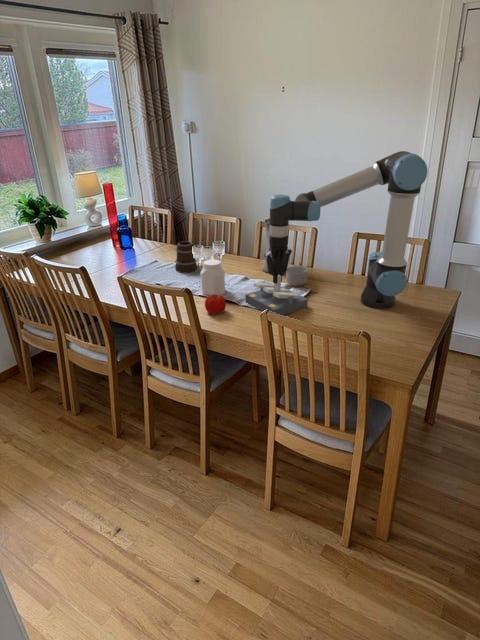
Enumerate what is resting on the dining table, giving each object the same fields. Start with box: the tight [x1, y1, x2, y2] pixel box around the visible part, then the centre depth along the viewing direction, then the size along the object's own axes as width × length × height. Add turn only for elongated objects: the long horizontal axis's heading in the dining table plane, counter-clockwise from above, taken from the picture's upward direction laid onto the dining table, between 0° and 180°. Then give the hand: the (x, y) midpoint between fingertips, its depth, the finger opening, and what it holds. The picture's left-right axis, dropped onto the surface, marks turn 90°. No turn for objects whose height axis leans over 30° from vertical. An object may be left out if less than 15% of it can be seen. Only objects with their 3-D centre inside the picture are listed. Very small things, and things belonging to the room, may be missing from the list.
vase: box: [262, 217, 273, 274], centre depth 234 cm, size 13×14×28 cm
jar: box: [200, 259, 226, 296], centre depth 211 cm, size 12×10×15 cm
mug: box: [174, 240, 198, 273], centre depth 243 cm, size 16×12×15 cm
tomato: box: [204, 294, 227, 315], centre depth 192 cm, size 9×9×8 cm
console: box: [244, 281, 309, 316], centre depth 197 cm, size 21×19×8 cm
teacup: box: [285, 264, 309, 287], centre depth 221 cm, size 14×11×8 cm
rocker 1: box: [253, 282, 274, 289], centre depth 201 cm, size 4×12×2 cm, turn 125°
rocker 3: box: [273, 292, 301, 298], centre depth 191 cm, size 4×12×2 cm, turn 125°
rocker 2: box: [263, 287, 290, 293], centre depth 196 cm, size 4×12×2 cm, turn 125°
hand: (277, 289), depth 187 cm, fingers closed
